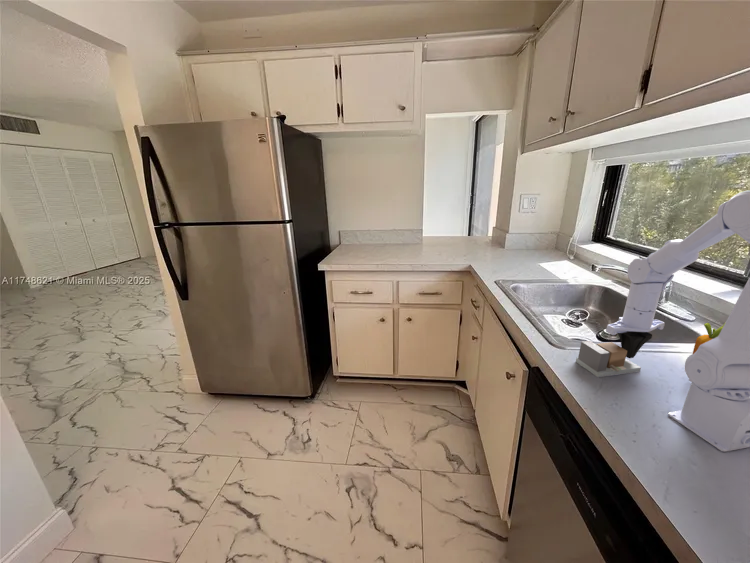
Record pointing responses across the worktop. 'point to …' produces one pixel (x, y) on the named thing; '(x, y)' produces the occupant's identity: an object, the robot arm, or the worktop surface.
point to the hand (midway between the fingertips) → (627, 356)
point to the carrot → (707, 336)
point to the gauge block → (614, 355)
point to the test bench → (609, 372)
